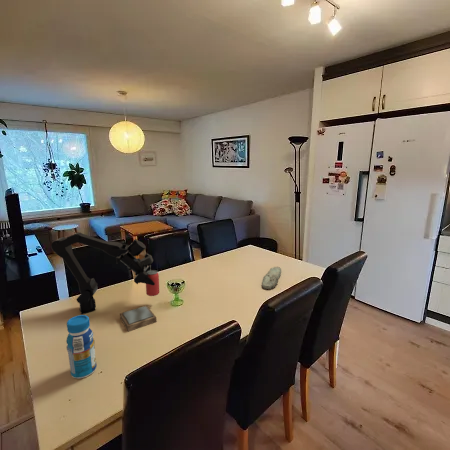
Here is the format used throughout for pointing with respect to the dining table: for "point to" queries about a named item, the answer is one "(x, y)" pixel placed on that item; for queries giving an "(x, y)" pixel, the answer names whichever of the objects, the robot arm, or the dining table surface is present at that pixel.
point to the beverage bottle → (80, 347)
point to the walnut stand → (137, 318)
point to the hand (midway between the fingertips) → (155, 281)
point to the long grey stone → (271, 278)
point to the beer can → (153, 289)
